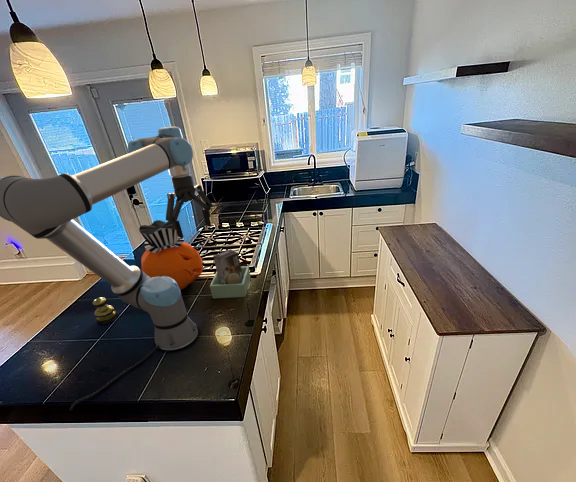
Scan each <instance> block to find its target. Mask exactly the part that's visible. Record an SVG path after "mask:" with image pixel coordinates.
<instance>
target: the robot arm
mask: <svg viewBox="0 0 576 482" xmlns="http://www.w3.org/2000/svg"><path fill="white" fill-rule="evenodd" d="M127 152H128V153H127V154H123V155H121V156H118V157H116V158H114V159H111V160H108V161H106V162H103V163H100V164H98V165H95V166H93V167H91V168H90V167H89V168H88V169H86V170H83V171H80V172H78V173H74V174H69V173H67V172H64V173H61V174H59V175H56V176H52V177H51V176H50V177H45V178H30V177H25V176H21V175H14V174H12V175H7V176H3V177H0V218H2V219H3V220H6V221H8V222H11V223H13V224H14V225H16V226H17V227H19V228H20V229H22V230H23V231H24V232H26V233H27V234H28V235H30V236H31V237H32V238H34V239H37V240H40V239H41V240H42V239H43V240H45V239H46V240H48V241H49V242H50V243H51V244H52V245H55V246H56V247H57V248H58V249H60V250H61V251H63V252H64V253H66V254H67V255H68V256H70V257H72V258H73V260H76V261H77V262H78V263H80V265H82V266H83V267H85V268H86V269H88V270H89V271H91V272H92V273H94V274H95V275H96V276H98V277H99V278H100V279H102V280H103V281H104V282H106V283H108V284H109V285H110V289H111V291H112V292H113V293H114V294H115V295H116V296H117V297H118V298H119V299H120V300H121V301H122V302H124V303H125V304H127V305H130V306H132V307H134V308H137V309H139V310H141V311H143V312H146V313H148V315H149V316H150V318H151V321H152V324H153V326H154V343H155V345H156V346H155V347H154V348H153V349H152V350H151V351H149V352H148V353H147V354H146V355H145V356H144V357H143V358H141V359H140V360H138V361H137V362H136V363H134V364H133V365H131V366H129V367H128V368H126V369H125V370H123V371H121V372H120V373H119V374H117V375H116V376H115V377H113V378H112V379H111V380H109V381H108V382H107V383H106V384H104V385H103V386H102V387H101V386H100V388H99V389H97V390H95V391H94V392H92V393H91V394H89V395H86V396H84V397H81V398H79V399H77V400H75V401H74V402H73V403H72V404H71V406H70V407H69V410H68V411H73V409H74V408H75V407H76V405H78V404H79V403H81V402H84V401H86V400H89V399H90V398H93V397H95V396H96V395H97V394H99V393H100V392H102V391H103V390H105V389H106V388H107V387H108V386H110V385H112V384H113V383H114V382H115V381H116V380H118V379H120V378H121V377H122V376H124V375H125V374H126V373H128V372H129V371H131V370H133V369H134V368H136V367H137V366H139V365H141V364H142V363H143V362H144V361H145V360H147V359H148V358H150V356H151V355H152V354H153V353H154V352H155V351H156V350H157V349H158V350H160V351H162V352H164V353H165V352H167V353H173V352H178V351H182V350H184V349H187V348H189V347H190V346H191V345H192V344H193V343H195V341H197V339H198V337H199V329H198V326H197V324H196V323H195V322H194V321H193V319H191V317H190V316H189V315H188V312H187V309H186V306H185V303H184V300H183V299H184V298H183V296H182V292H181V290H180V289H179V287H178V284H177V282H176V281H175V280H174V279H172V278H170V277H166V276H162V277H159V276H157V277H152V278H151V277H149V276H148V275H146V274H145V273H144V272H143V271H142V269H141V268H139V267H138V266H136V265H129V264H127V263H126V262H125V261H124V260H122V258H121V257H119V255H116V254H115V253H114V252H113V251H112V250H111V249H109V248H108V247H107V246H106V245H105V244H103V242H101V241H100V240H98V239H97V237H95V236H94V235H92V233H90V232H88V230H87V229H85V228H84V227H82V226H81V225H80V224H79V223H78V222H76V220H75V219H77V218H79V217H81V216H83V215H85V214H87V213H89V212H91V211H92V209H93V205H95V204H97V203H100V202H102V201H104V200H106V199H108V198H110V197H112V196H115V195H116V194H119V193H121V192H123V191H125V190H127V189H129V188H131V187H133V186H136V185H138V184H140V183H142V182H144V181H146V180H148V179H150V178H153V177H155V176H157V175H159V174H161V173H163V172H165V171H168V174H169V176H170V177H171V178H170V182H171V185H172V188H173V190H174V192H168V193H166V197H167V204H166V211H165V212H166V213H165V221H166V222H168V221H170V222H172V225H173V228H174V229H175V230H176V231H177V235H178V237H181V238H183V239H184V234H183V230H182V227H181V223H180V220H178V218H179V216H180V213H181V210H182V207H183V205H184V204H186V203H188V202H191V201H194V202H195V203H196V204H198V205H199V206H200V207H201V208H202V210H201V211H202V214H203V220H204V224H205V226H207V227H212V223H211V219H210V218H211V211H210V210H211V209H212V207H213V206H214V205H213V203H212V202H211V200H210V198H209V197H208V196H207V195H206V193H205V192H204V190H203V186H202V185H201V184H195V183H194V179H193V176H192V174H191V173H192V172H191V167H190V163H191V162H192V161H193V158H194V150H193V147H192V145H191V143H190V142H189V141H188V140H187V139H186V138H184V137H183V134H182V129H181V128H180V127H178V126H164V127H159V128H158V129H157V135H156V136H150V137H143V138H136V139H133V140H130V141H129V142H128V144H127ZM194 184H195V185H194ZM196 193H197V194H198V195H199V197H200V198H199V197H198V196H197V195H196Z"/></svg>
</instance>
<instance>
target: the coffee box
mask: <svg viewBox="0 0 576 482" xmlns="http://www.w3.org/2000/svg"><path fill="white" fill-rule="evenodd" d="M212 257H213V262H214V265H215V270H216V272H217V274H218V278H219V282H220V285H225V284H242V282H243V276H242V271H241V267H242V266H241V261H240V256H239V252H237V251H236V250H233V249H231V248H230V249H228V250H225V251H222V252H220V253H216V254H214V255H212Z"/></svg>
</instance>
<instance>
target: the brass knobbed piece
mask: <svg viewBox="0 0 576 482" xmlns="http://www.w3.org/2000/svg"><path fill="white" fill-rule="evenodd" d="M106 302H107V298H105V297H97V298H96V299H94V300H93V301H92V305H93V306H96V307H97V308H96V309H95V311H94V313H93V314H94V317H95V319H96V320H97V322H98V323H99V324H101V325H106V324H107V325H108V324H110V323H112V322H114V321H115V320H116V319H117V318H118V314H117V311H116V310H115V307H114V306H113V305H110V304H106Z"/></svg>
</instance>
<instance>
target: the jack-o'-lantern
mask: <svg viewBox="0 0 576 482" xmlns="http://www.w3.org/2000/svg"><path fill="white" fill-rule="evenodd" d="M138 232H139V234H140V235H141V236H142V237H143V239H144V240H145V241H144V244H143V245H144V250H145V251H144V252H143V253H142V255H141V258H140V259H141V260H140V261H141V270H142V271H143V272H144V273H145V274H146V275H148V276H149V277H151V278H152V277H157V276H159V277H162V276H166V277H170V278H172V279H174V280H175V281H176V282H177V284H178V287H179V289H180V291H181V290H182V291H183V290H184V289H186V288H187V287H188V285H190V284H193V283H194V282H195V281H196V280H197V279H198V278H199V277H200V276H201V274H202V273H203V270H204V265H203V264H204V263H203V262H204V260H203V258H202V257H201V255H200V253H199V251H198V250H197V249H196V248H194V247H193V246H192V245H191V244H190V243H189V242H186V239H185V238H184V237H183V238H181V237H178V235H177V231H176V230H175V229H174V228H173V225H172V222H170V221H163V220H160V219H156V220H154V221H153V222H152V223H151V224H148V225H147V224H141V225H140V226H139V228H138Z"/></svg>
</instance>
